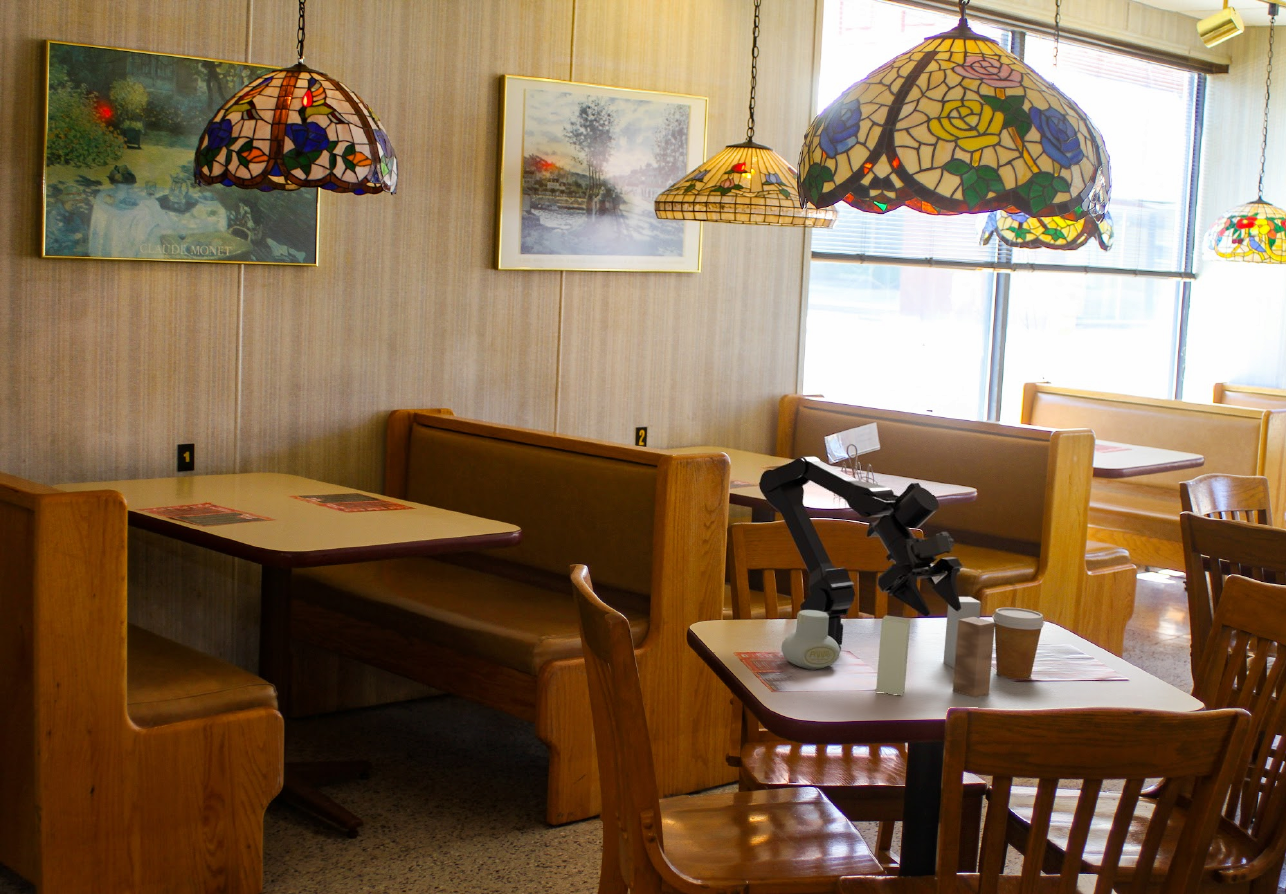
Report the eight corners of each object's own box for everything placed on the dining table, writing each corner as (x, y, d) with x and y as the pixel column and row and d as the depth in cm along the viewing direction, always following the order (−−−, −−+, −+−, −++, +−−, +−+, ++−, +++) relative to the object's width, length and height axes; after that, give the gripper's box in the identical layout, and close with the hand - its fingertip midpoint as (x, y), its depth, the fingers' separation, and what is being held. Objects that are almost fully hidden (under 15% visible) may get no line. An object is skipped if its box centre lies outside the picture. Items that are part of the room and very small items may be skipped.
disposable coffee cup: (1040, 672, 243) (1045, 611, 242) (1038, 684, 234) (1044, 621, 233) (989, 665, 246) (994, 604, 245) (985, 677, 237) (991, 614, 236)
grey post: (953, 668, 242) (959, 602, 241) (943, 662, 247) (948, 596, 245) (975, 668, 243) (981, 602, 242) (964, 662, 248) (970, 596, 246)
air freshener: (826, 658, 244) (830, 607, 243) (845, 670, 237) (849, 618, 236) (774, 660, 241) (777, 608, 240) (791, 672, 233) (795, 619, 232)
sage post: (875, 692, 223) (881, 620, 222) (879, 686, 227) (884, 615, 226) (901, 696, 222) (907, 623, 220) (904, 689, 226) (910, 618, 225)
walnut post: (952, 690, 227) (958, 619, 226) (967, 687, 230) (973, 616, 229) (973, 697, 224) (979, 625, 223) (988, 693, 227) (995, 622, 225)
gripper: (894, 520, 228) (940, 593, 220) (958, 514, 240) (1003, 583, 232) (858, 556, 234) (900, 627, 227) (921, 548, 246) (963, 616, 239)
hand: (943, 612), depth 231 cm, fingers open, 9 cm apart
